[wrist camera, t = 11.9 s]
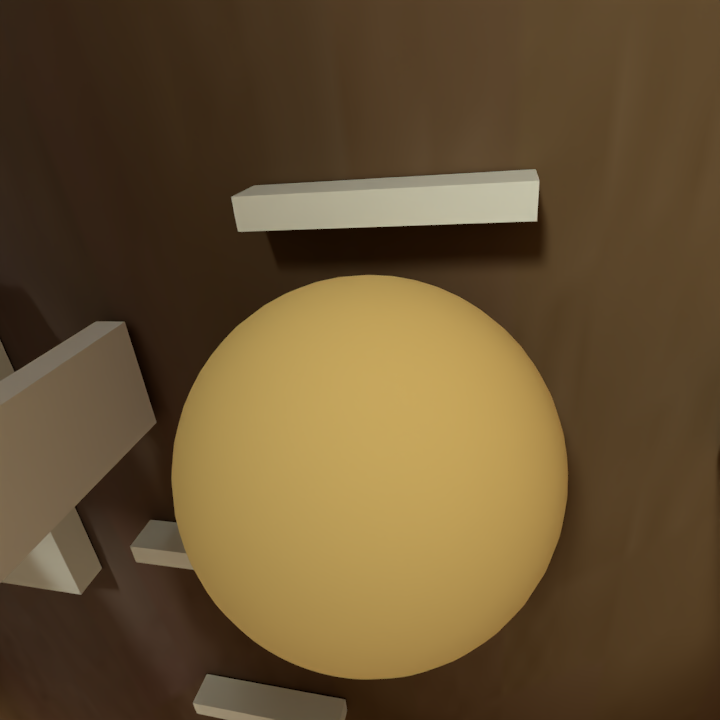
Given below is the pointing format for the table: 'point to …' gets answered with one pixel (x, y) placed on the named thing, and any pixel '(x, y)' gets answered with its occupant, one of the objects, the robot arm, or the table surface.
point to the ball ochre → (369, 477)
